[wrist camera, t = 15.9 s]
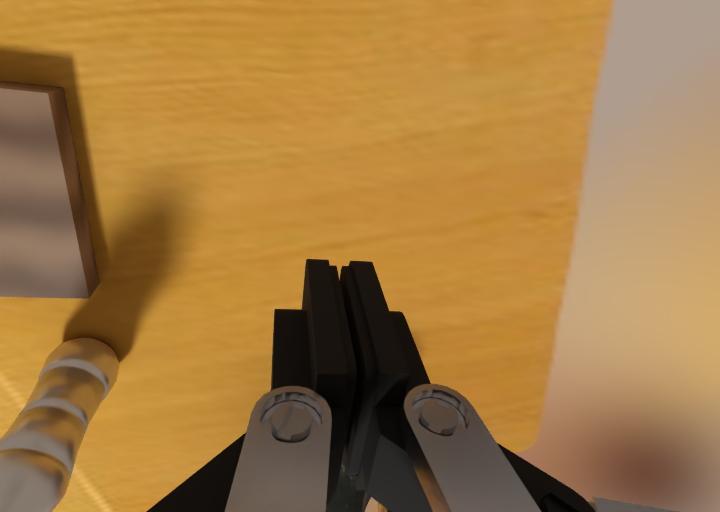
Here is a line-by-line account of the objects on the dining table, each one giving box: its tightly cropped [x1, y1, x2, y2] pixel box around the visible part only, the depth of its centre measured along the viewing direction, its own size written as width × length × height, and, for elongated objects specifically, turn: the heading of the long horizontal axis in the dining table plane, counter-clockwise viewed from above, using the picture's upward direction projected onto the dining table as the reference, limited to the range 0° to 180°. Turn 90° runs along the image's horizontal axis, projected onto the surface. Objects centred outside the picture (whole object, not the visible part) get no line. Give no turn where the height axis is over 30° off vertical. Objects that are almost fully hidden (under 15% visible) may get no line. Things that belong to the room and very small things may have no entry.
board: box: [0, 81, 99, 299], centre depth 35 cm, size 18×10×2 cm, turn 172°
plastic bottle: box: [0, 338, 119, 512], centre depth 37 cm, size 6×7×20 cm
